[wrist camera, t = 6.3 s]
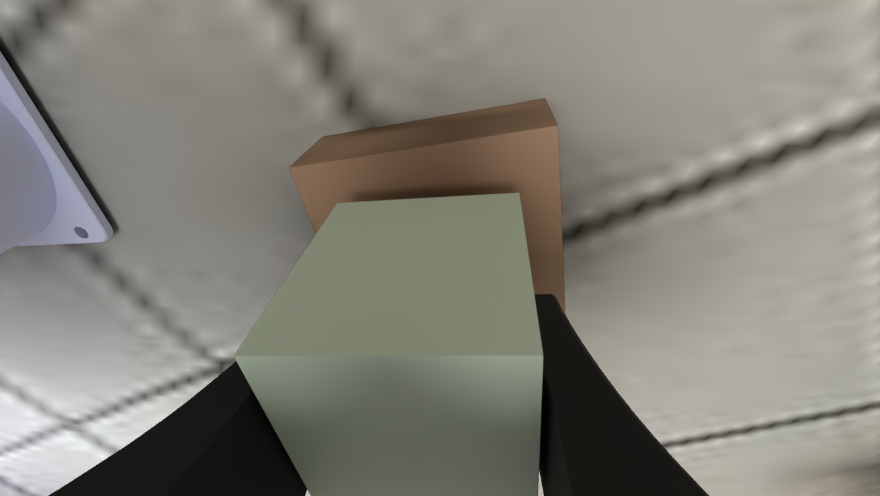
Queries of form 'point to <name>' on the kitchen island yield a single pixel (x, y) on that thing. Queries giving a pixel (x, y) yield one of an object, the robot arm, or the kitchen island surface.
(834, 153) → the kitchen island surface
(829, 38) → the kitchen island surface
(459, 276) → the green block
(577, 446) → the robot arm
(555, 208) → the walnut block
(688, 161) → the kitchen island surface
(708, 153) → the kitchen island surface
